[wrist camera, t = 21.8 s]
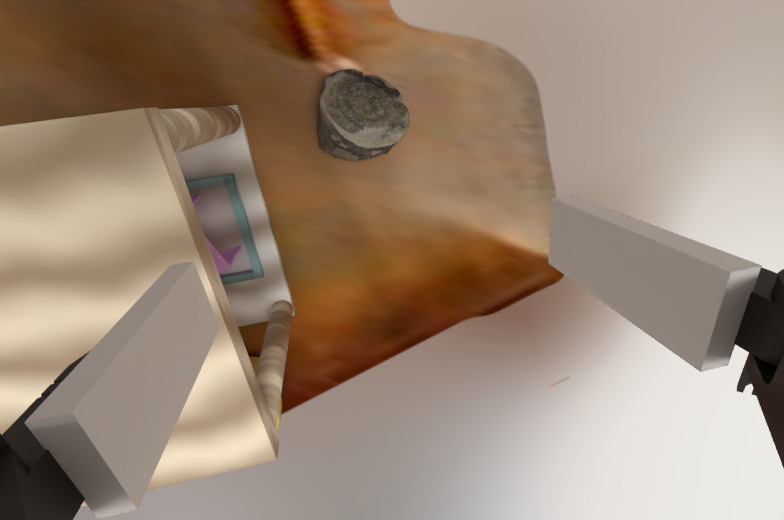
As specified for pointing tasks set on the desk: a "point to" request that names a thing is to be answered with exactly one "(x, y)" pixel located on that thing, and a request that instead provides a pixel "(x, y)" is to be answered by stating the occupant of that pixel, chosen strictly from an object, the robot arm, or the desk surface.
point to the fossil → (360, 116)
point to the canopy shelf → (142, 265)
